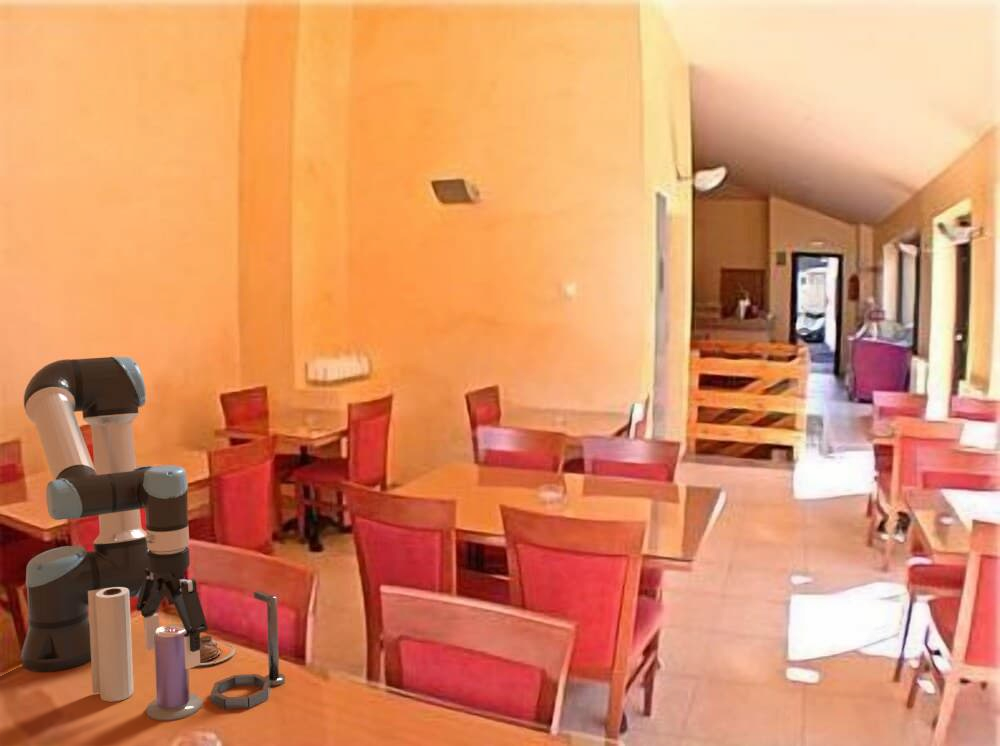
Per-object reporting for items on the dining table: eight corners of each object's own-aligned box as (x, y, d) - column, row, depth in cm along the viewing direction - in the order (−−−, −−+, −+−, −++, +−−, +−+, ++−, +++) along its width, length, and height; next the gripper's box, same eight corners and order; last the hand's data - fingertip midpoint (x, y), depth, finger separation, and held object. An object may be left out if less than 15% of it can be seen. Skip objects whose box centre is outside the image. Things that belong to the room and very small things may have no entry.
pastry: (166, 660, 198) (165, 640, 197) (211, 642, 207) (210, 622, 207) (201, 674, 191) (200, 653, 190) (246, 654, 201) (246, 634, 200)
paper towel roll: (139, 695, 180) (134, 590, 178) (108, 705, 176) (103, 598, 174) (122, 684, 185) (118, 582, 183) (92, 694, 181) (87, 589, 179)
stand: (201, 698, 179) (198, 609, 177) (266, 671, 192) (263, 588, 190) (235, 714, 173) (232, 623, 171) (299, 685, 185) (297, 599, 183)
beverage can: (179, 713, 172) (176, 636, 170) (150, 710, 173) (147, 634, 171) (195, 699, 178) (193, 624, 176) (168, 696, 179) (165, 622, 177)
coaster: (135, 710, 174) (135, 706, 174) (182, 691, 182) (182, 688, 182) (165, 726, 168) (165, 722, 168) (212, 705, 176) (212, 702, 176)
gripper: (114, 541, 176) (119, 646, 179) (188, 566, 161) (192, 681, 164) (149, 532, 182) (154, 635, 185) (224, 556, 167) (228, 667, 170)
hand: (172, 657), depth 174 cm, fingers open, 13 cm apart
